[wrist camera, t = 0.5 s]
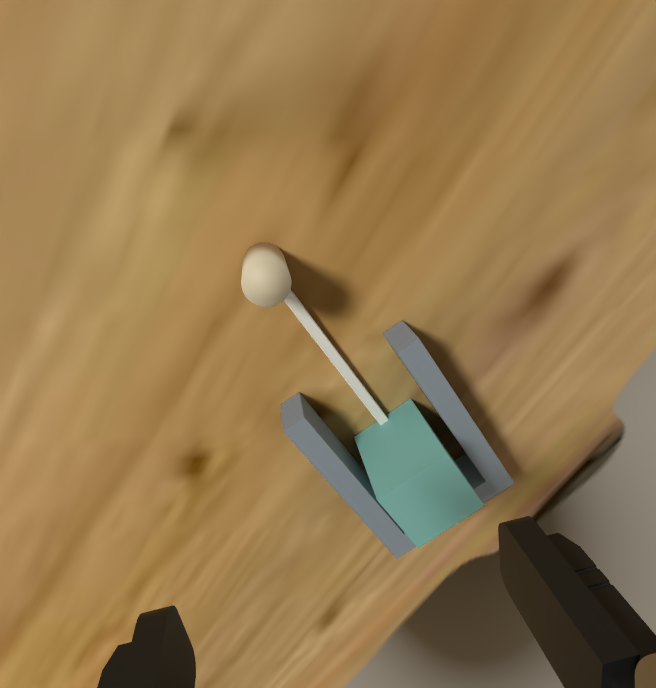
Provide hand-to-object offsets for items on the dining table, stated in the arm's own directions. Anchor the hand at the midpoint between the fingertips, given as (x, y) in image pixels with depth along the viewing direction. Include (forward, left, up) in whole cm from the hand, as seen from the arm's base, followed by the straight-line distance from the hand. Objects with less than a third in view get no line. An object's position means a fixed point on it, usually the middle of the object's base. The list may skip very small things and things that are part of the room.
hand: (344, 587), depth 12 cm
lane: (-1, +12, -21) cm, 24 cm away
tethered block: (-1, +5, -21) cm, 22 cm away
